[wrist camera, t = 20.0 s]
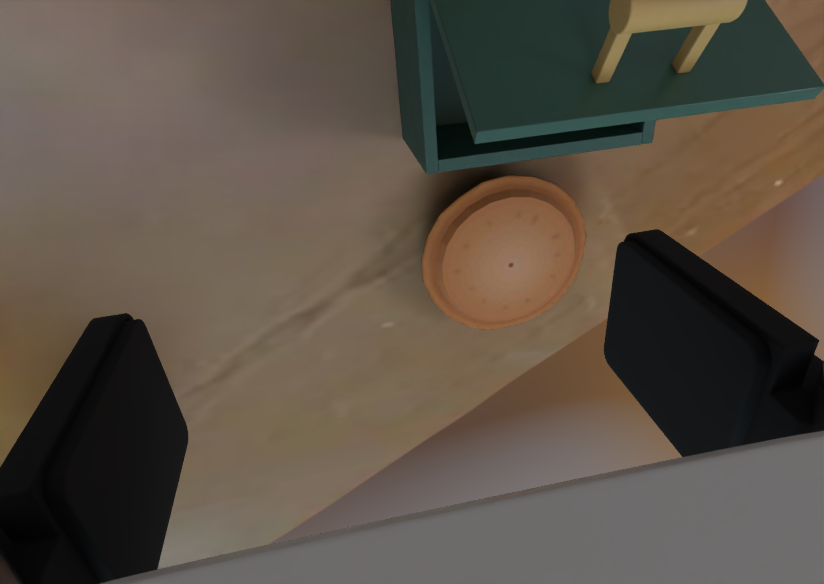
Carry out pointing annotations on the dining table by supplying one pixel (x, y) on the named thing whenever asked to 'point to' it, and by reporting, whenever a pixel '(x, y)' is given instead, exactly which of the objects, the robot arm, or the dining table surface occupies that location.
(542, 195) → the pie
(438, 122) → the bread bin
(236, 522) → the dining table surface
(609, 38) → the bread bin lid
